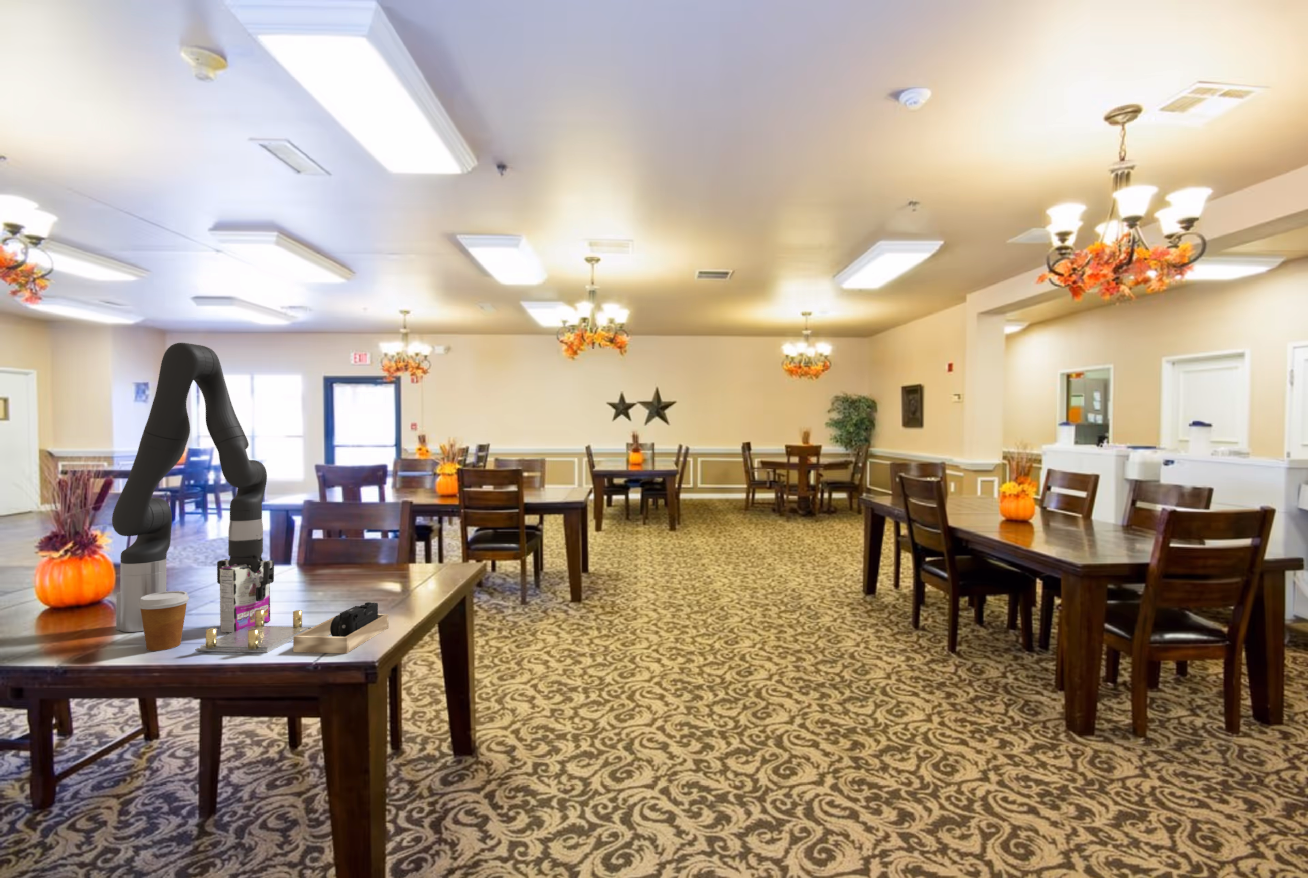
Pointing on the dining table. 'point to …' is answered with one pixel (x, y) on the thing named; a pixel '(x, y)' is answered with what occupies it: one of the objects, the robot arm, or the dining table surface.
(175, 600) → the disposable coffee cup
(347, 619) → the camera
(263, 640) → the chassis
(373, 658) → the dining table surface
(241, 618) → the candy bar box
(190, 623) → the dining table surface
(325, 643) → the oak frame
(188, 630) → the dining table surface
